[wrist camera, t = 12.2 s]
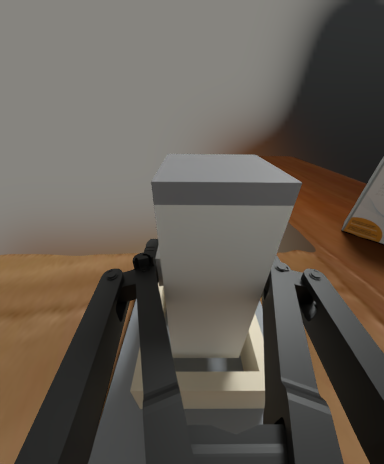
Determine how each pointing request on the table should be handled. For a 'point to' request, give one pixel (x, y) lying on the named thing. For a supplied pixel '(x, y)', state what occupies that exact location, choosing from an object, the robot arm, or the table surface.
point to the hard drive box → (369, 209)
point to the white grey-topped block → (217, 245)
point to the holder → (182, 393)
